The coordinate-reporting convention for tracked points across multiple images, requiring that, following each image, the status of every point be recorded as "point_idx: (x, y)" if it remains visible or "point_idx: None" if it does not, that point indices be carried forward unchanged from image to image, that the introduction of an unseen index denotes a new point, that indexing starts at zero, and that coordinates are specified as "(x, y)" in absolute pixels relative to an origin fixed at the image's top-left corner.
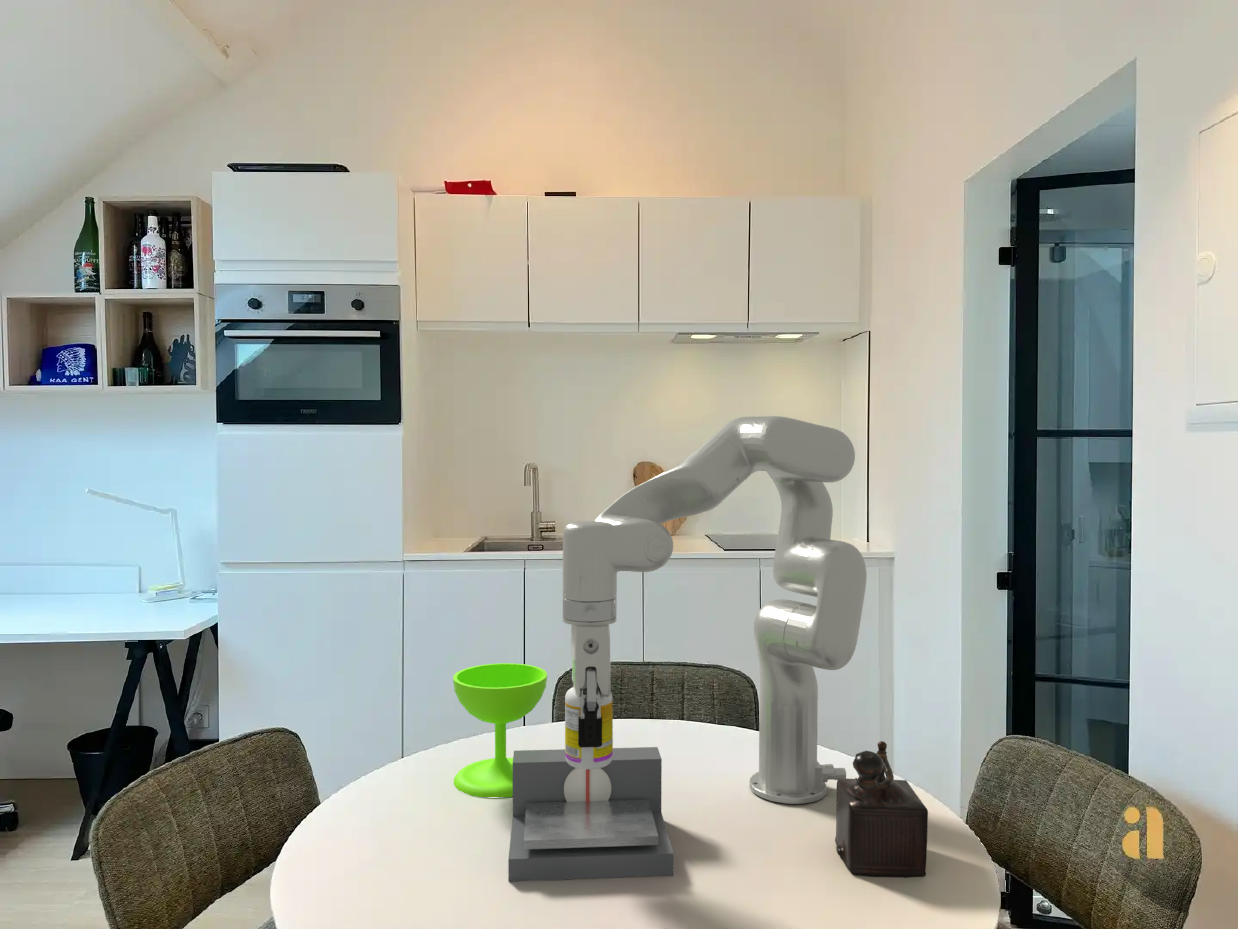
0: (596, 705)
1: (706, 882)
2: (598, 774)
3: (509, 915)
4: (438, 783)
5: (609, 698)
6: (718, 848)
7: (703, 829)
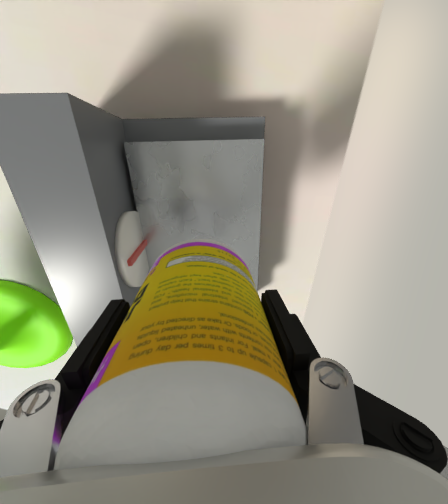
0: (445, 456)
1: (279, 73)
2: (127, 241)
3: (305, 287)
4: (47, 374)
5: (257, 399)
6: (180, 26)
7: (113, 41)
